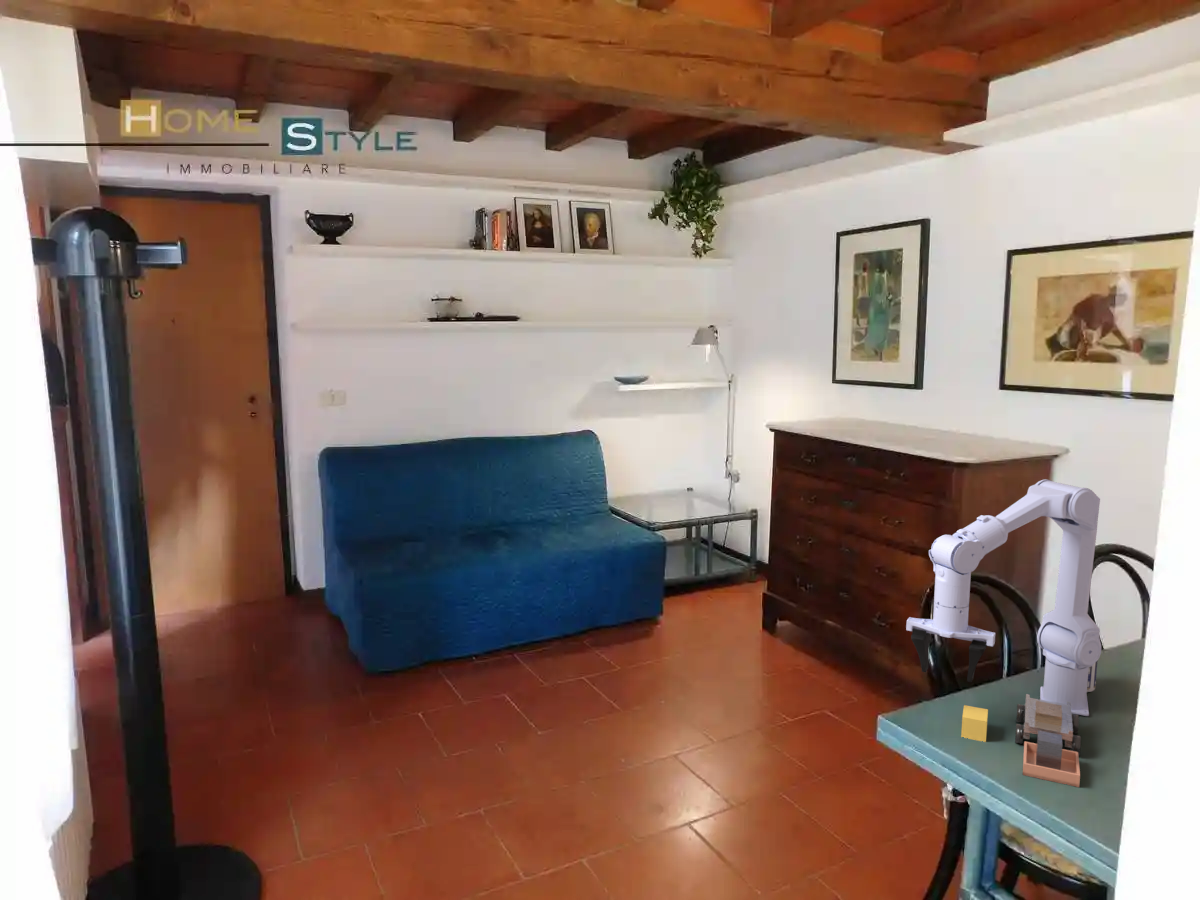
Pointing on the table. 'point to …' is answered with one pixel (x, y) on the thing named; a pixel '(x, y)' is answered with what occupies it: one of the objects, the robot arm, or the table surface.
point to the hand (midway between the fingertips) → (947, 674)
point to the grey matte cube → (1049, 750)
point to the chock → (974, 723)
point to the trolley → (1048, 721)
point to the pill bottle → (1092, 677)
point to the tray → (1065, 775)
